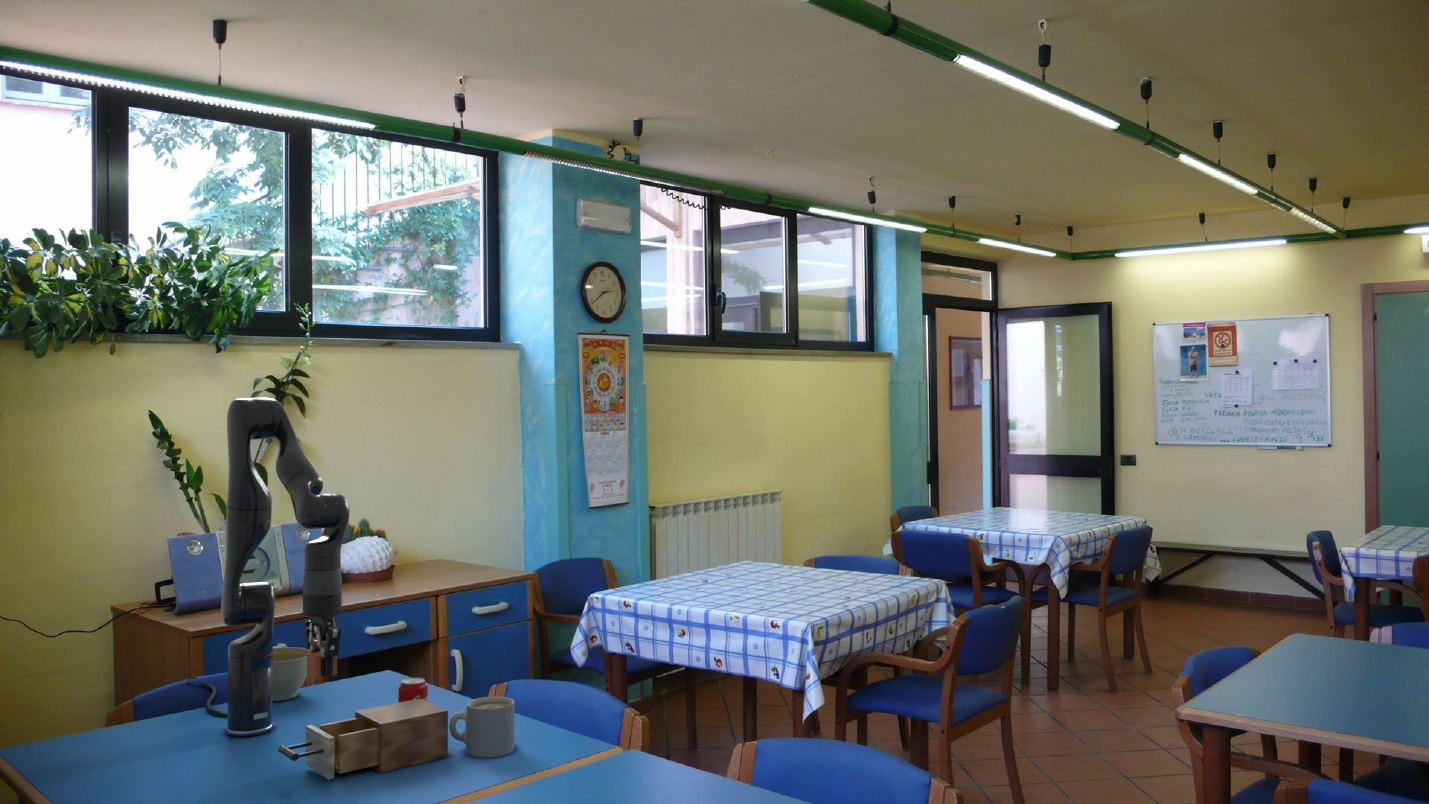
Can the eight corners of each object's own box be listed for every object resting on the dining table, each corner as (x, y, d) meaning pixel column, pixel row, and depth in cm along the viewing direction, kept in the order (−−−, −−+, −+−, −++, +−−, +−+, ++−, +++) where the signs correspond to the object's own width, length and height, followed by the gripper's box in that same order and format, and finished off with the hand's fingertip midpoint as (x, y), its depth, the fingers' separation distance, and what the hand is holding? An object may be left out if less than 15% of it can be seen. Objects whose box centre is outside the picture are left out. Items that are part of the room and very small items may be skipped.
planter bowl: (228, 704, 256) (228, 659, 257) (266, 687, 272) (267, 646, 273) (288, 707, 254) (288, 662, 254) (323, 690, 270) (324, 648, 270)
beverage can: (419, 739, 228) (419, 684, 229) (392, 737, 230) (393, 683, 230) (432, 731, 235) (432, 677, 235) (406, 729, 236) (407, 676, 236)
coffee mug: (519, 743, 226) (519, 697, 226) (506, 758, 216) (507, 709, 216) (459, 741, 227) (459, 695, 227) (443, 756, 217) (444, 708, 217)
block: (306, 675, 215) (306, 653, 215) (328, 671, 218) (328, 650, 218) (315, 679, 212) (315, 656, 212) (336, 675, 215) (337, 653, 215)
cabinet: (381, 772, 207) (381, 724, 207) (354, 757, 216) (354, 711, 216) (447, 756, 217) (448, 710, 217) (419, 743, 226) (420, 698, 226)
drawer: (295, 786, 196) (296, 745, 196) (273, 771, 205) (274, 731, 205) (394, 763, 209) (394, 725, 210) (370, 750, 218) (370, 713, 218)
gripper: (291, 589, 218) (290, 671, 218) (317, 596, 208) (317, 683, 207) (326, 585, 223) (326, 665, 223) (354, 592, 213) (354, 677, 212)
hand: (322, 673), depth 215 cm, fingers closed on block, 4 cm apart
